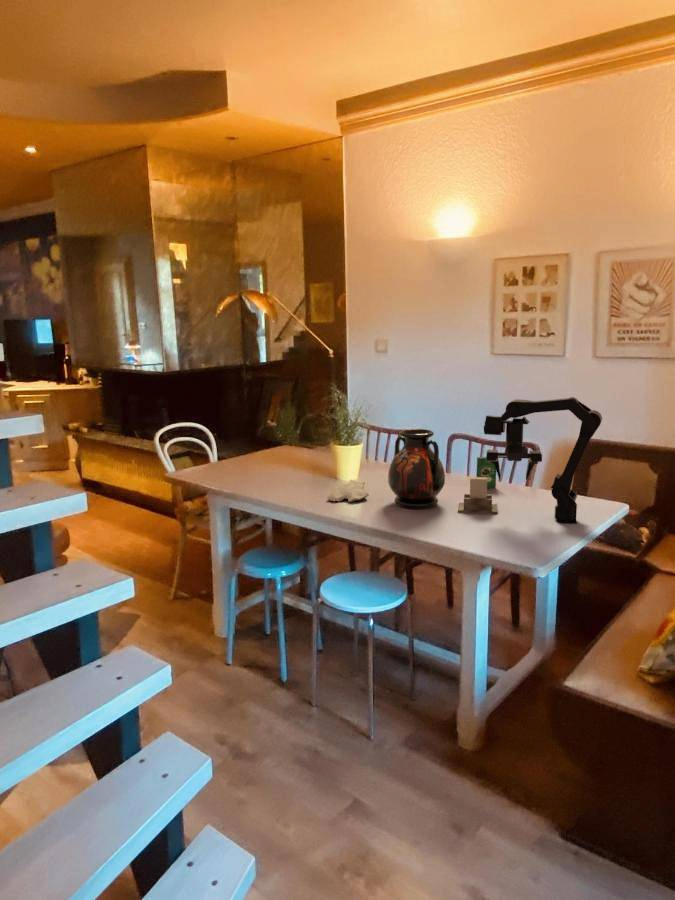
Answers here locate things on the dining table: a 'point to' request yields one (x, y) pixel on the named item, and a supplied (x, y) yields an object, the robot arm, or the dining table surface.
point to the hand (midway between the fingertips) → (512, 479)
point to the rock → (349, 492)
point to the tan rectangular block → (478, 487)
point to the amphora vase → (416, 470)
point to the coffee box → (486, 471)
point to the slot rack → (477, 505)
